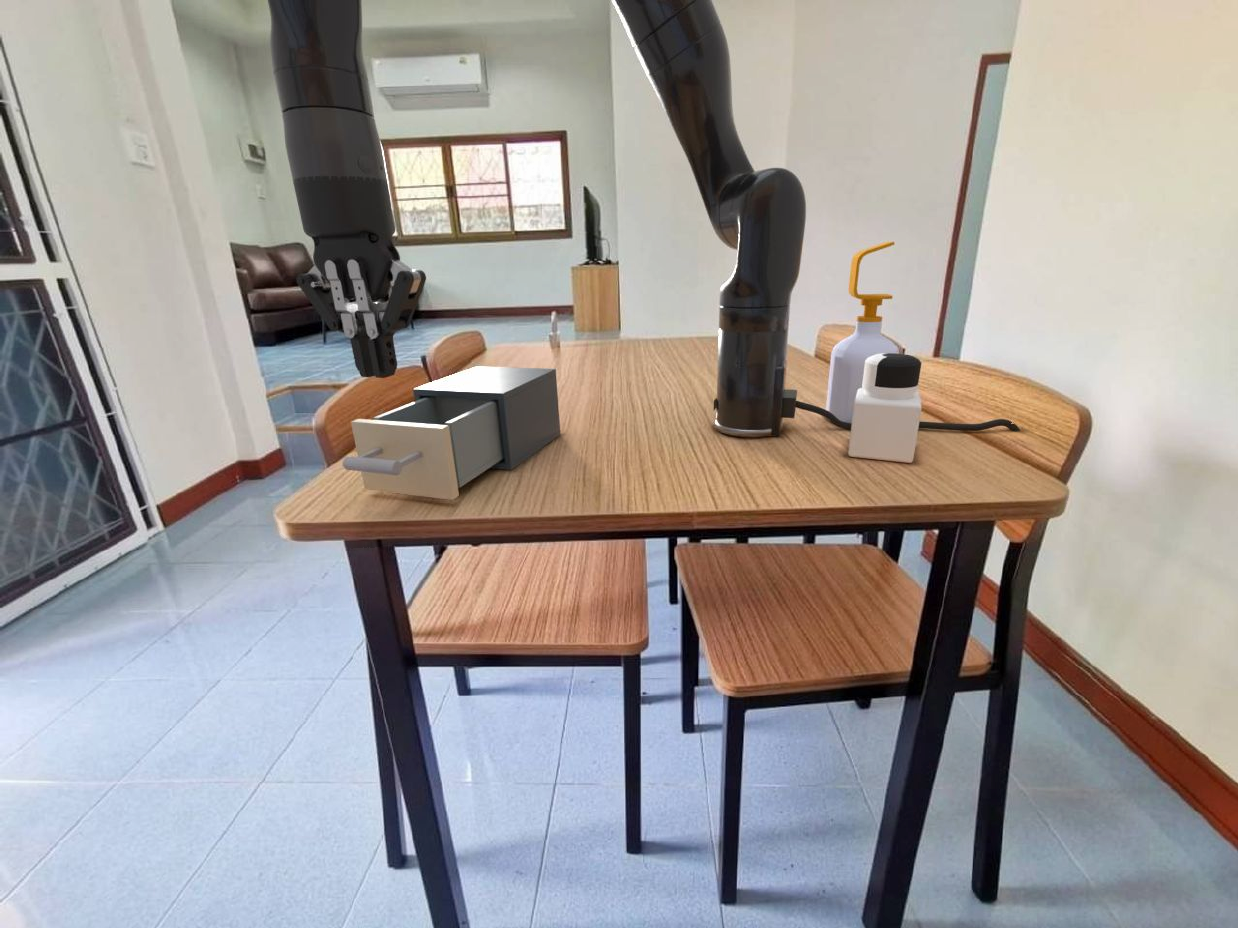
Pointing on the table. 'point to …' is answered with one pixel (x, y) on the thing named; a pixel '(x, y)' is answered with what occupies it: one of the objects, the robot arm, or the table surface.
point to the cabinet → (509, 405)
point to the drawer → (428, 446)
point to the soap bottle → (856, 347)
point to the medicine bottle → (887, 409)
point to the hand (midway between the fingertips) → (378, 375)
